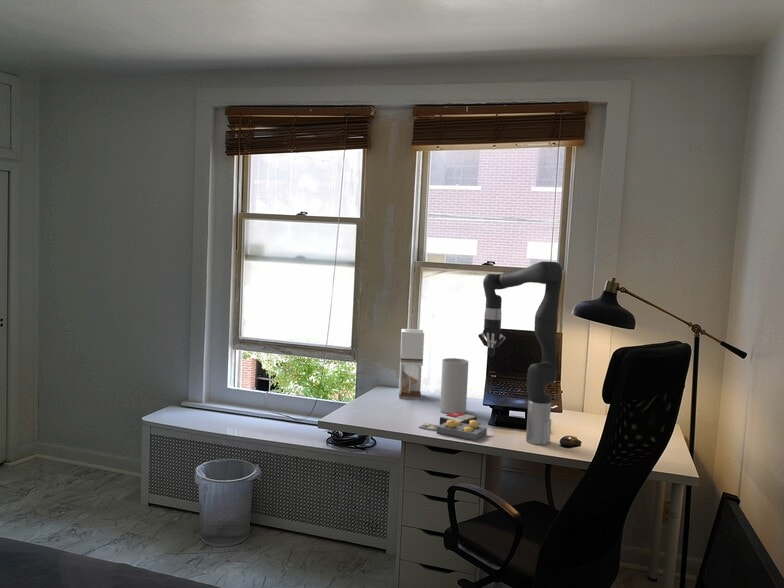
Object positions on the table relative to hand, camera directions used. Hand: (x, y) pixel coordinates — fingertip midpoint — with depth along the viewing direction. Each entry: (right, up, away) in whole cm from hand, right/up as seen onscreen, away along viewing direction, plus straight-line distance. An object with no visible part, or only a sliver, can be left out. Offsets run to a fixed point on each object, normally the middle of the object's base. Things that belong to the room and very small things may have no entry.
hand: (490, 355), depth 296 cm
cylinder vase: (-15, -29, +20) cm, 38 cm away
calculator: (-15, -31, -1) cm, 35 cm away
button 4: (-10, -29, -17) cm, 35 cm away
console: (-15, -32, -17) cm, 39 cm away
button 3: (-13, -31, -22) cm, 40 cm away
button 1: (-20, -29, -18) cm, 39 cm away
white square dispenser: (-36, -26, +47) cm, 64 cm away
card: (-28, -31, -10) cm, 43 cm away
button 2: (-17, -30, -13) cm, 37 cm away
